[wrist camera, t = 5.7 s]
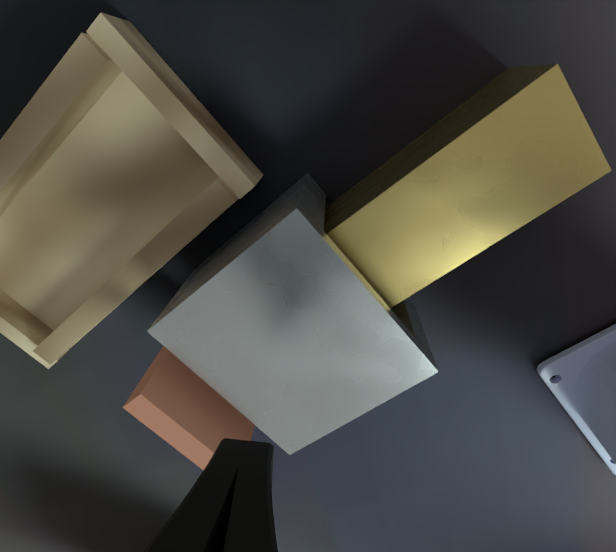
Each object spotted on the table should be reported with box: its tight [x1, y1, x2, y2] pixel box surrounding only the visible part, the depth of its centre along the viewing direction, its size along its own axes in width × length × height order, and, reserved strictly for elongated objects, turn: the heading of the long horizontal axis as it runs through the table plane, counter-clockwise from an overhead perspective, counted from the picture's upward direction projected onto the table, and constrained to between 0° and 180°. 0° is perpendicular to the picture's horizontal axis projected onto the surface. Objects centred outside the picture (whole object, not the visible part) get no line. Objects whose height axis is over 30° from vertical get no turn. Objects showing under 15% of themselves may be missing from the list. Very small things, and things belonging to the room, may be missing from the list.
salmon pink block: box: [123, 346, 255, 470], centre depth 16 cm, size 5×8×6 cm, turn 130°
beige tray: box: [0, 13, 263, 369], centre depth 17 cm, size 7×14×2 cm, turn 130°
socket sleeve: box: [147, 173, 439, 455], centre depth 16 cm, size 8×7×5 cm
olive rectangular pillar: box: [323, 64, 612, 308], centre depth 15 cm, size 9×4×4 cm, turn 129°
